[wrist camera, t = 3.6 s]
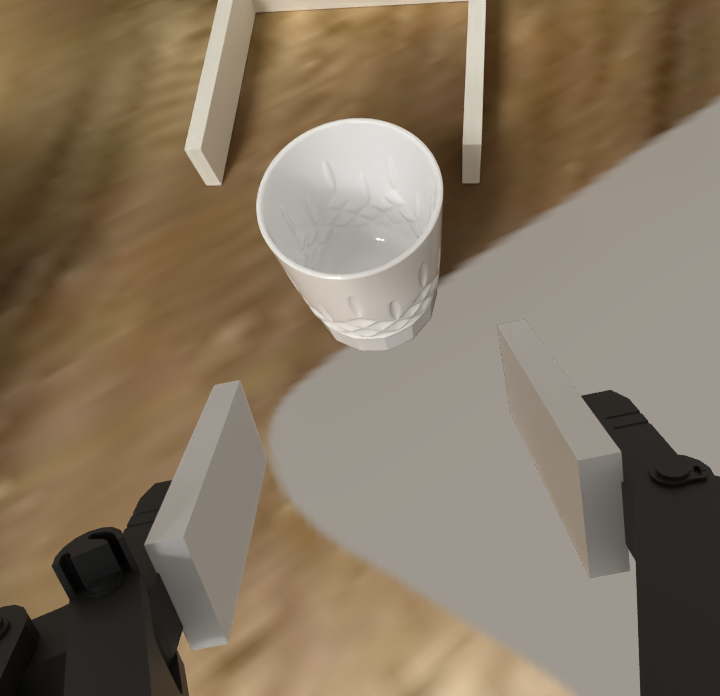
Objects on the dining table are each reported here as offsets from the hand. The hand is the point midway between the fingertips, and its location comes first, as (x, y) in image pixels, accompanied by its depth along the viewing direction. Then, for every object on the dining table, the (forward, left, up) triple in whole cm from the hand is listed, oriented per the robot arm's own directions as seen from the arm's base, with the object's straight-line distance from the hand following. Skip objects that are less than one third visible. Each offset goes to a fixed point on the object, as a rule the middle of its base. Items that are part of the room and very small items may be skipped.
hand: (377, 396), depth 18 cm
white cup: (+10, +3, -15) cm, 19 cm away
